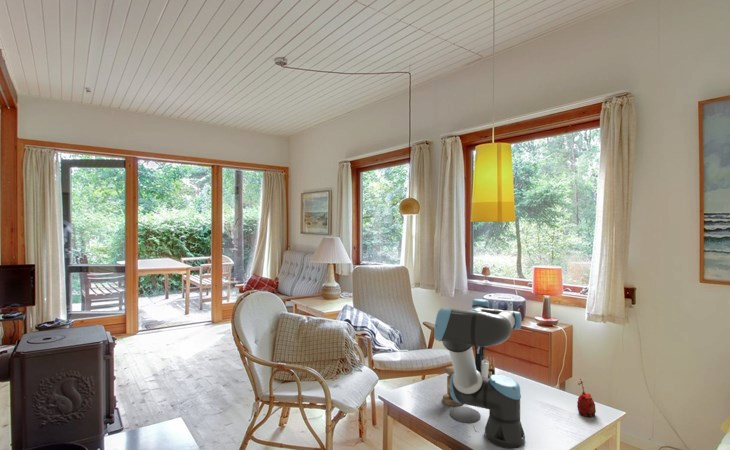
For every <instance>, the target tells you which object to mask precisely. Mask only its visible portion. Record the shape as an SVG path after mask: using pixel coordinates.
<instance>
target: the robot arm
mask: <svg viewBox="0 0 730 450" xmlns="http://www.w3.org/2000/svg"><path fill="white" fill-rule="evenodd" d="M471 303H472V304H471V308H470V309H469V310H467V309H459V308H458V309H456V308H451V307H443V308H440V309H439V310H438V311H437V314H436V317H435V322H434V330H433V332H434V333H433V335H434V339H435V341H438V342H442V345H443V346H444V348H445V349H446V350H447V351H448V353H449V356H450V360H451V364H452V365H451V366H453V368H454V372H455V373H453V374H452V376H451V380H450V394H451V397H452V399H453V400H454V401H455V402H458V403H460V404H463V405H466V406H473V407H477V408H481V409H484V410H485V409H486V410H488V411H489V416H488V418H487V420H486V423H485V427H484V436H485V438H486V439H487V441H488V442H490V443H491V444H493V445H495V446H497V447H500V448H504V449H518V448H522V447H524V445H525V444H526V434H525V432H524V428H523V425H522V421H521V398H522V394H521V386H520V384H519V382H517V381H516V380H515V379H513V378H511V377H509V376H507V375H503V374H499V373H498V374H496V373H495V374H494V375H492V374H491V376H490V378H485V377H482V371H481V366H482V360H484V359H485V348H487V347H493V346H497V345H500V344H503V343H504V342H506V341H507V340H508V339H509V338H510V337H511V335H512V331H513V330H515V331H517V330H518V331H520V330H521V329H522V321H523V320H522V313H521V312H520V311H515V310H505V309H504V310H503V309H495V308H490V302H489V300H488V299H485V298H484V299H483V298H474V299H473V300H472V302H471ZM473 347H474V350H473ZM474 351H475V353H474ZM474 354H475V355H474ZM474 358H475V360H474ZM477 368H478V369H477Z"/></svg>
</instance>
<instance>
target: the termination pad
mask: <svg viewBox="0 0 730 450" xmlns="http://www.w3.org/2000/svg"><path fill="white" fill-rule="evenodd" d="M449 415H450V417H452V419H454V420H456V421H458V422H461V423H466V424H468V423H469V424H473V423H477V422H479V421H480V420H481V413H480V412H479V411H478V410H477V409H475V408H472V407H468V406H454V407H453V408H451V410H450V413H449Z"/></svg>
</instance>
